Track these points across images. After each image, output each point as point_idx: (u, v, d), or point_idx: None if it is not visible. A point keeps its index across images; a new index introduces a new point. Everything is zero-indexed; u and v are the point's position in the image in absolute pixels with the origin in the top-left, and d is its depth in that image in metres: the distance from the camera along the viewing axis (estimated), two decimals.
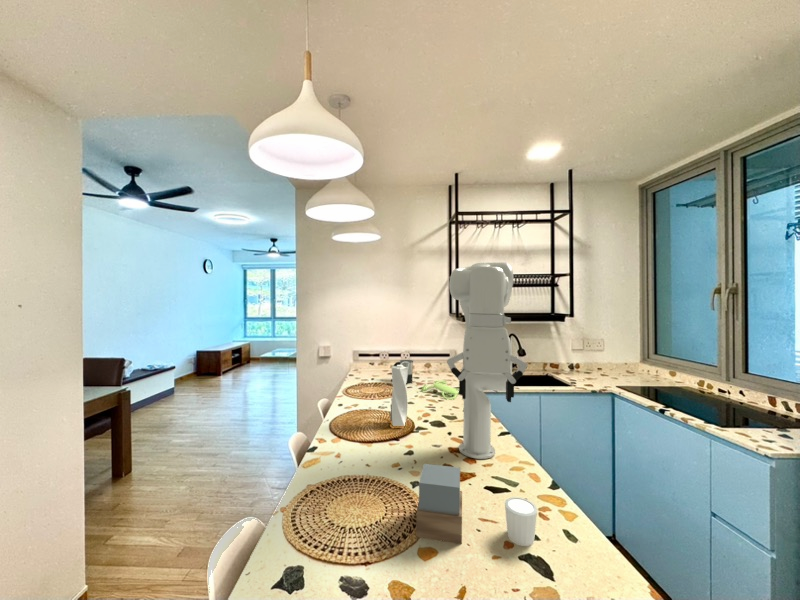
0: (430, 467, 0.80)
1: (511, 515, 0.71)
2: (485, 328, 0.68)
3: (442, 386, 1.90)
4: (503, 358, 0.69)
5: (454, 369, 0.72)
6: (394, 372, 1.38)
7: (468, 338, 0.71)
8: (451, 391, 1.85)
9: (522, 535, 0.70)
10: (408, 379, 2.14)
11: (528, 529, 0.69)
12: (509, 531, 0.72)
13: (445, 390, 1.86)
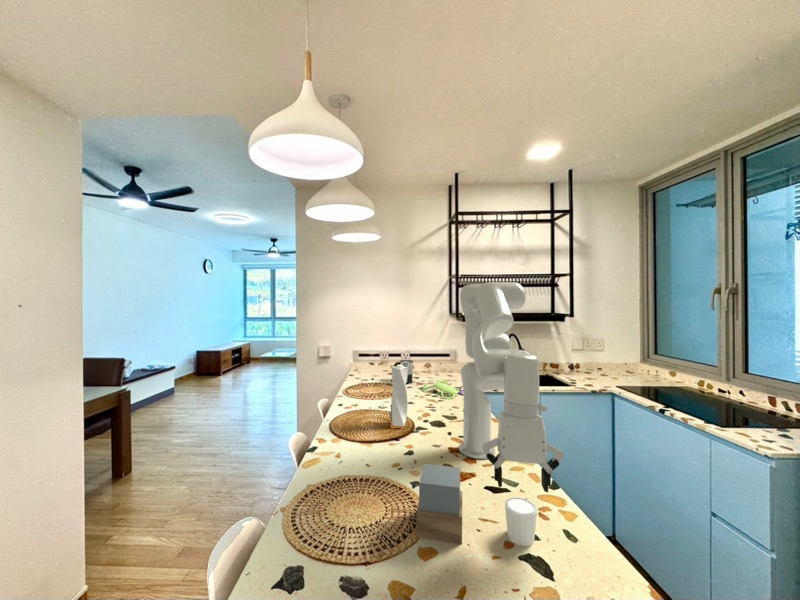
0: (430, 467, 0.80)
1: (511, 514, 0.71)
2: (522, 419, 0.69)
3: (442, 386, 1.91)
4: (540, 448, 0.70)
5: (490, 456, 0.73)
6: (394, 372, 1.38)
7: (504, 426, 0.71)
8: (450, 391, 1.85)
9: (522, 535, 0.70)
10: (408, 379, 2.14)
11: (528, 529, 0.69)
12: (509, 531, 0.72)
13: (444, 390, 1.87)
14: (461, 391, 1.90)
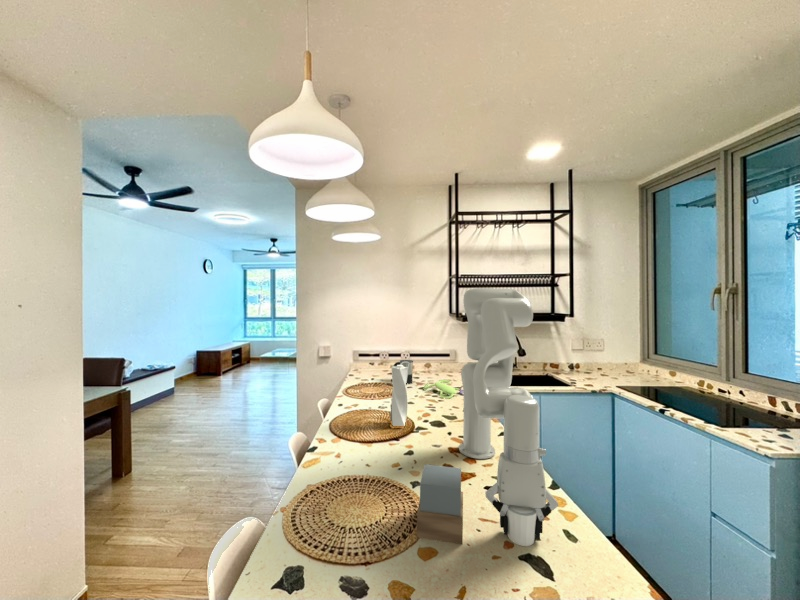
0: (431, 468, 0.79)
1: (511, 514, 0.71)
2: (522, 465, 0.69)
3: (442, 385, 1.92)
4: (539, 493, 0.70)
5: (495, 503, 0.73)
6: (394, 372, 1.38)
7: (504, 470, 0.71)
8: (449, 390, 1.86)
9: (522, 535, 0.70)
10: (408, 379, 2.14)
11: (528, 529, 0.69)
12: (509, 531, 0.72)
13: (444, 389, 1.88)
14: (461, 391, 1.90)
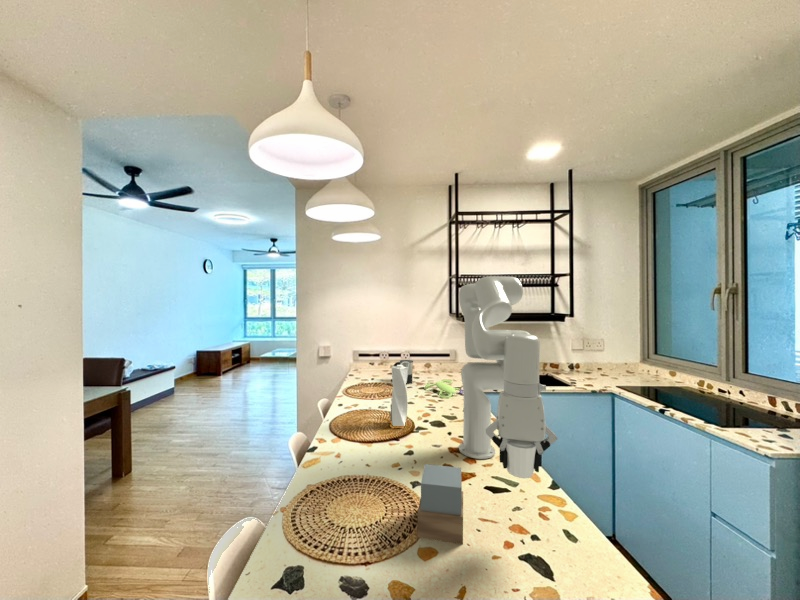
0: (431, 467, 0.79)
1: (510, 448, 0.72)
2: (521, 398, 0.70)
3: (442, 385, 1.93)
4: (538, 427, 0.70)
5: (495, 438, 0.74)
6: (394, 372, 1.38)
7: (504, 405, 0.72)
8: (448, 390, 1.87)
9: (521, 467, 0.70)
10: (408, 379, 2.14)
11: (527, 461, 0.70)
12: (508, 465, 0.73)
13: (443, 389, 1.89)
14: (461, 391, 1.90)
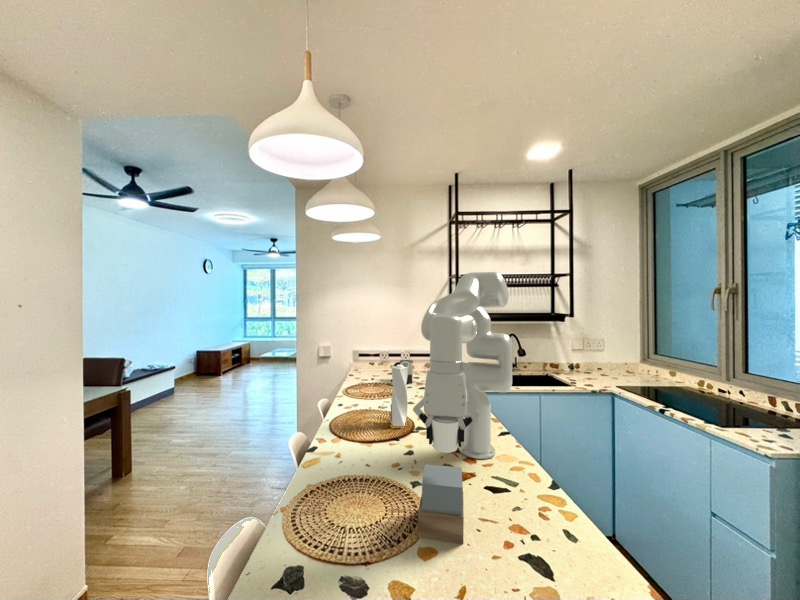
0: (432, 467, 0.79)
1: (434, 424, 0.74)
2: (443, 375, 0.73)
3: None
4: (460, 403, 0.74)
5: (422, 415, 0.76)
6: (394, 372, 1.38)
7: (428, 383, 0.75)
8: None
9: (444, 442, 0.73)
10: (408, 379, 2.14)
11: (449, 436, 0.73)
12: (433, 441, 0.75)
13: None
14: None
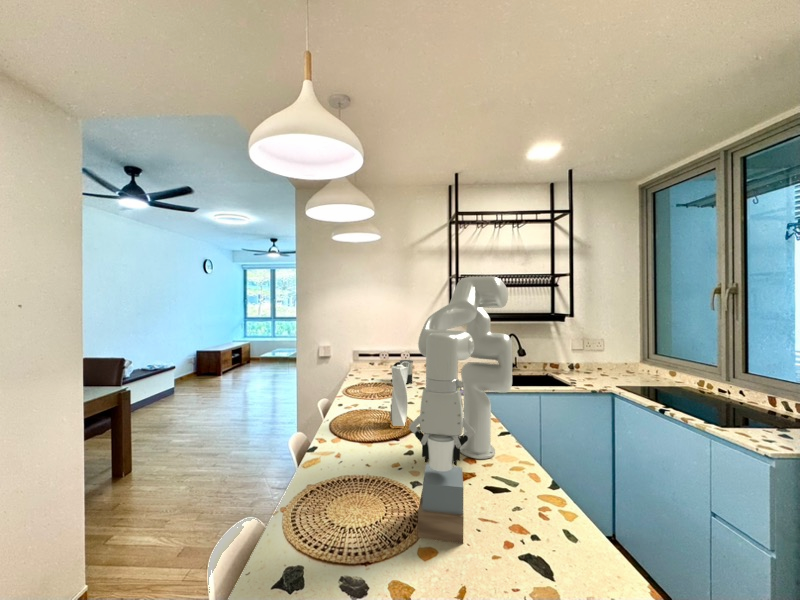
0: None
1: (430, 442, 0.74)
2: (438, 394, 0.73)
3: None
4: (455, 421, 0.74)
5: (417, 433, 0.77)
6: (394, 372, 1.38)
7: (424, 401, 0.75)
8: None
9: (439, 461, 0.73)
10: (408, 379, 2.14)
11: (444, 455, 0.73)
12: (429, 459, 0.75)
13: None
14: (461, 391, 1.90)
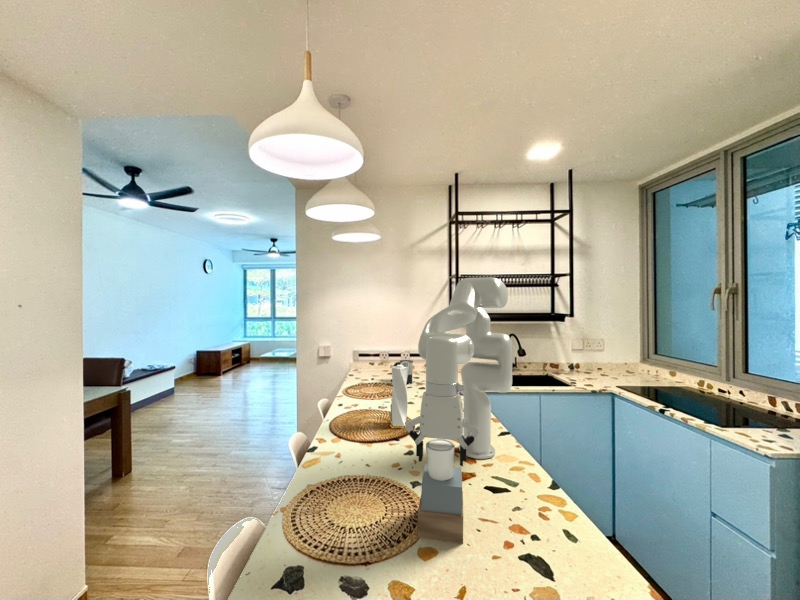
0: None
1: (428, 451, 0.75)
2: (438, 397, 0.73)
3: None
4: (455, 425, 0.73)
5: (411, 433, 0.77)
6: (394, 372, 1.38)
7: (424, 405, 0.75)
8: None
9: (438, 470, 0.73)
10: (408, 379, 2.14)
11: (443, 464, 0.73)
12: (429, 468, 0.76)
13: None
14: (461, 391, 1.90)
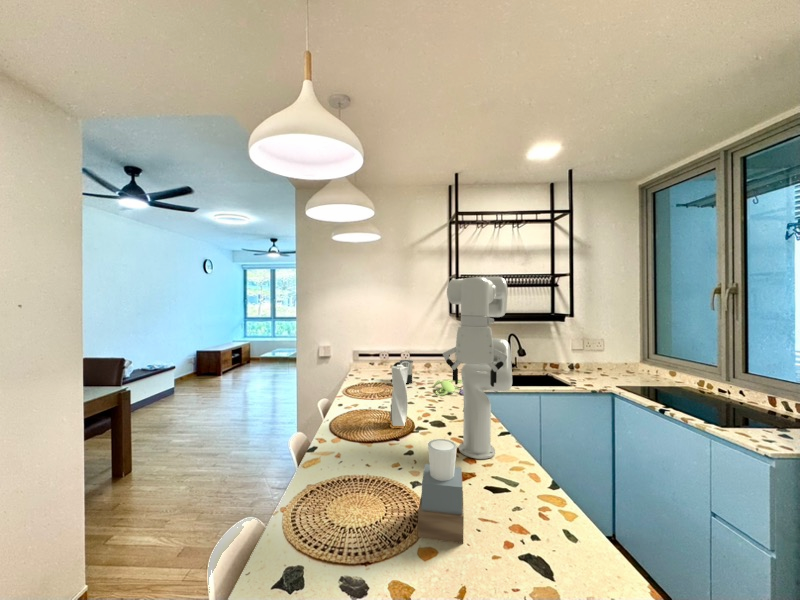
0: None
1: (432, 452, 0.74)
2: (473, 327, 0.85)
3: (445, 383, 1.97)
4: (487, 351, 0.86)
5: (448, 360, 0.89)
6: (394, 372, 1.38)
7: (460, 335, 0.88)
8: (447, 389, 1.90)
9: (442, 470, 0.73)
10: (408, 379, 2.13)
11: (447, 464, 0.73)
12: (431, 469, 0.75)
13: (443, 387, 1.94)
14: (461, 391, 1.90)
